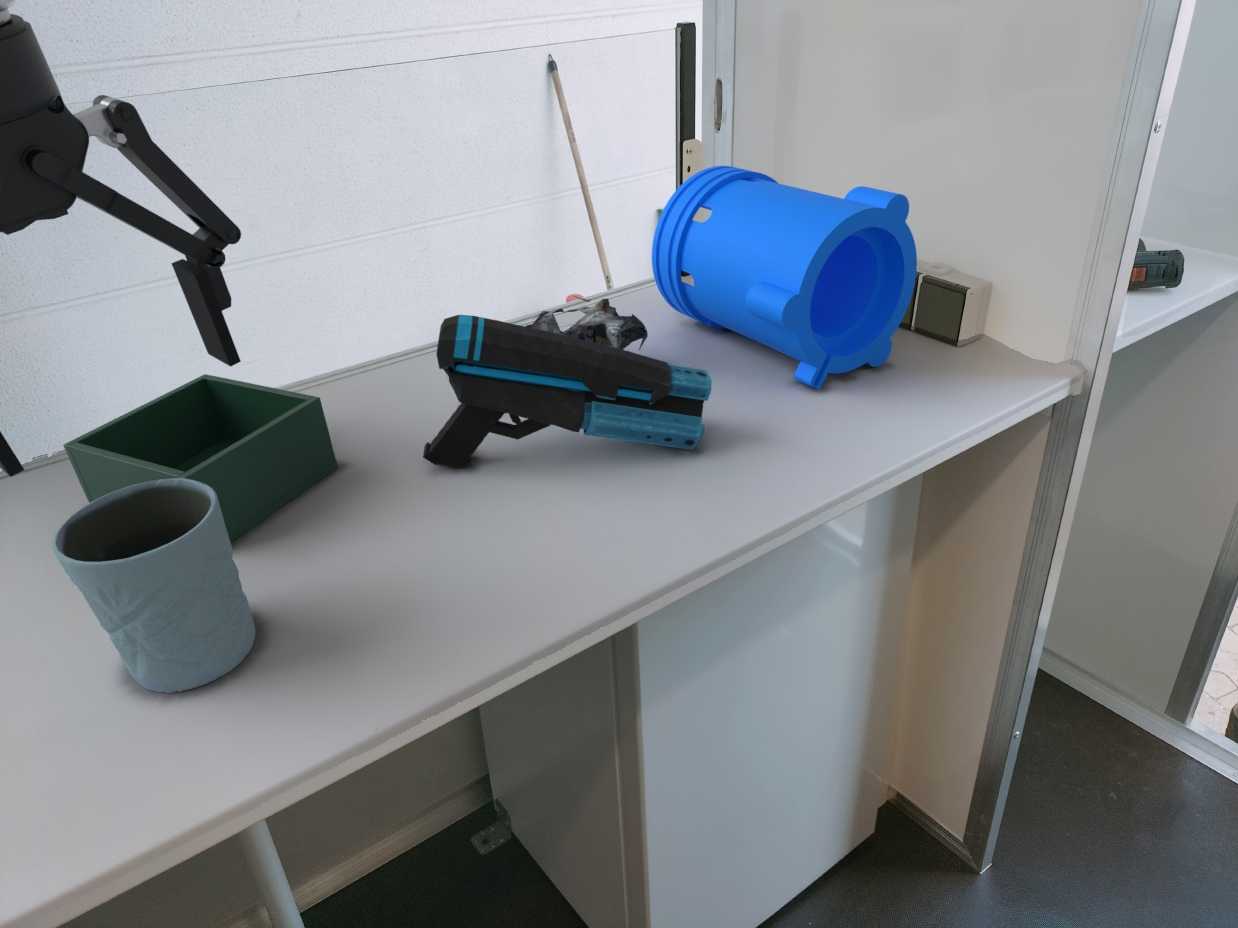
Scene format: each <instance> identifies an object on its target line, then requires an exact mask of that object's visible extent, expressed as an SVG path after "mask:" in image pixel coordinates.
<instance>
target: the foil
mask: <svg viewBox="0 0 1238 928" xmlns="http://www.w3.org/2000/svg"><path fill="white" fill-rule="evenodd" d="M573 297H574V298H577V299H579V300H582V301H584V302H587V303H589V302H591V300H590V299H586V298H582V297H578V296H575V295H573ZM585 305H586V303H585V304H583V305H582V306H580V307H579V308H575V309H574V308H573V309H568V310H564V308H558V309H552V310H551V311H549V310H542V311H541V312H540V313H539V314H537V316H535V317H534V318H533V319H532V321H534V322H533V323H531V324H530V323H528V324H526V325H524V326H525V327H530V328H535V329H539V330H544V331H549V332H553V333H557V334H561V335H565V336H569V337H573V338H577V339H581V340H585V341H589V342H593V343H598V344H602V345H606V346H610V347H614V348H618V349H622V350H625V348H627V347H628V346H630V345H632V343H634V342H637V341H638V340H641V342H640V345H639V349H638V351H640V350H641V349H642V347H643V345H644V343H645V342H646V340H647V338H648V335H649V334H648V330H647V327H646V325H645V324H644V323H643V322H642V321H641V320H640V319H639V318H638V317H637V316H636V315H635V314H634V313H632V314H631V315H619V313H618V311H617V307H614V306H612V305H611V304H610V301H609V298H602V299H600V300H599V302H597V303H595V304H594V305H593V306H585ZM578 311H579V312H581V313H583V314H585V315H584V316H582V317H581V318H579V320H577V321H576V322H575V323H573V324H571V325H570V324H568V325H566V327H567V326H570V327H569V328H567V329H565V330H564V331H562V330H561V329H560V328H563V327H564V325H563V326H561V327H560V326H559V323H558V321H557V319H556V317H555V314H557V313H563V314H564V313H565V314H566V313H575V312H578Z"/></svg>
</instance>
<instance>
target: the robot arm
mask: <svg viewBox="0 0 1238 928" xmlns="http://www.w3.org/2000/svg"><path fill="white" fill-rule="evenodd" d="M16 2H17V0H0V233H3V234H5V235H6V236H8V235H9V236H10V235H11V234H14V233H17V232H21V231H23V230H25V229H26V228H27V227H29V226H31V225H32V224H34V223H35V222H37V221H45V220H55V219H58V218H61V217H64V216H67V215H69V214H70V213H69V212H68V210H69V209H71V208H72V206H73V205H74V204H75V202H76V200H77V199H78V200H80V201H83V202H85V203H86V204H88V205H91V206H93V207H94V208H95V209H98V210H99V211H102V212H103V213H106V214H107V215H109V216H111V217H112V218H115V219H116V220H119V221H120V222H122V223H124V224H126V225H128V226H130V227H132V228H134V229H135V230H137V231H139V232H141V233H143V234H145V235H147V236H148V237H150V238H153V240H156V241H158V242H159V243H162V244H164V245H165V246H167V247H168V248H170V249H173V250H175V251H176V252H178V253H179V254H182V255H183V256H185V259H184V258H181V259H178V260H176V261H173V262H171V266H172V268H173V271H174V273H175V276H176V279H177V281H178V283H179V286H180V288H181V291H182V293H183V296H184V298H185V300H186V303H187V305H188V308H189V310H190V313H191V315H192V318H193V320H194V323H195V325H196V328H197V330H198V332H199V334H200V338H201V340H202V343H203V345H204V347H205V350H206V352H207V354H208V355H209V356H211V357H213V358H214V359H216V360H218V361H220V362H222V363H223V364H225V365H227V366H228V367H230V368H231V367H233V366H235V365H237V364H239V363H242V362H241V358H240V355H239V352H238V350H237V347H236V345H235V342H234V340H233V337H232V335H231V332H230V329H229V327H228V324H227V321H226V319H225V316H224V313H223V311H225V310H227V309H229V308H231V307H232V295H231V293H230V291H229V287H228V285H227V282H226V280H225V277H224V274H223V272H222V269H221V267H223V266H224V265H225V263H226V254H225V253H224V251H223V250H224V249H226V248H227V247H228V246H229V245H236V244H238V243H239V241H241V238H242V231H241V229H240V227H239V226H238V225H237V224H235V222H234V221H233V220H232V219H231V218H230V217H229V216H228V215H227V214H226V213H225V212H224V211H223V210H222V209H221V208H220V207H219V206H218V205H217V204H216V203H215V202H214V201H213V200H212V199H211V198H210V197H209V196H208V195H207V194H206V193H205V192H204V191H203V190H202V189H201V188H200V186H198V185H197V183H195V182H194V180H192V179H191V178H190V177H189V176H188V175H187V174H186V173H185V171H183V170H182V169H181V168H180V167H179V166H178V165H177V164H176V162H174V161H173V160H172V159H171V158H170V157H169V156H168V154H166V153H165V152H164V150H162V149H161V148H160V147H159V146H158V145H157V144H156V143H155V142H154V140H153V139H152V137H151V136H150V133H149V132H148V130H147V128H146V126H145V124H144V122H143V120H142V118H141V116H140V113H139V111H138V110H137V108H136V107H135V105H133V104H131V103H130V102H127V101H124V100H121V99H118V98H115V97H112V96H109V95H105V94H100V95H98V96H96V97H95V98H94V99H93V101H92V106H90V107H88V108H86V109H83V110H81V111H78V112H76V113H72V112H71V110H69V108H68V107H67V105H66V104H65V102H64V99H63V96H62V94H61V91H60V89H59V86H58V84H57V82H56V80H55V77H54V75H53V73H52V71H51V68H50V66H49V64H48V61H47V59H46V57H45V54H44V52H43V49H42V47H41V45H40V43H39V41H38V38H37V35H36V33H35V31H34V29H33V27H32V25H31V23H30V22H28V21H26V20H24V18H23V17H22V16H20V15H17V14H14V13H10V10H9V9H10V8H11V7H12V6H14V5H15V4H16ZM90 137H95V138H96V139H97V140H98V141H99V142H100V143H101V144H102V145H105V146H108V147H111V148H114V149H116V150H118V152H119V153H120V154H121V155H122V156H123V157H125V159H126V160H128V161H129V162H130V164H131V165H133V166H134V167H135V168H136V169H137V170H138V171H139V172H140V173H141V174H142V175H143V176H144V177H145V178H146V179H147V180H148V181H149V182H150V183H152V184H153V186H155V187H156V188H157V189H158V190H159V191H160V192H161V193H162V194H163V196H165V197H166V198H167V199H168V200H170V202H172V203H173V204H174V206H176V207H177V208H178V210H180V211H181V213H183V214H184V215H185V216H186V217H187V218H188V219H189V220H190V221H191V222H192V223H193V224H194V225H196V227H198V229H197V230H196V231H194V233H193V234H192V233H191V232H190V231H189V232H188V231H187V230H185V229H184V228H182V227H180V226H178V225H176V224H174V223H173V222H171V221H169V220H167V219H166V218H164V217H162V216H160V215H158V214H157V213H155V212H153V211H151V210H150V209H148V208H146V207H145V206H143V205H140V204H139V203H137V202H135V201H134V200H132V199H130V198H128V197H127V196H125V195H123V194H122V193H119V192H118V191H116V190H115V189H113V188H112V187H110V186H108V185H106V184H105V183H103V182H101V181H100V180H97V179H96V178H94V177H92V176H90V175H88V174H87V173H85V172H84V167H85V163H86V160H87V159H86V158H87V155H88V154H87V153H88V150H89V145H90ZM0 469H1V470H2V471H3V472H4V473H5V474H7V475H8V476H9V477H10V478H12V477H14V476H15V475H18V474H19V473H21V472H24V471H25V468H24V466H23V465H22V463H21V462H20V460H19V458H18V457H17V455H16V453H15V452H14V450H13V449H12V448H11V446H10V444H9V443H8V441H7V440H6V438H5V437H4V435H3V433H2V432H1V431H0Z"/></svg>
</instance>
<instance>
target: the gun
mask: <svg viewBox="0 0 1238 928" xmlns="http://www.w3.org/2000/svg"><path fill="white" fill-rule="evenodd" d="M525 326H526V325H520V324H515V323H510V322H507V321H501V320H496V319H491V318H487V317H482V316H478V315H471V314H470V315H469V314H456V315H453V316H450V317H446V318H444V319H443V321H442V323H441V325H440V328H439V334H438V339H437V348H436V359H437V364H438V368H439V370H443V372H445V374H446V375H447V377H448V383H449V384H450V386H451V388H452V390H453V392H454V394H455V397H456V399H457V400H458V402H459V403H460V404H459V405H458V406H457V408H456V410H455V411H454V412H453V413H452V414H451V415H450V417H449V418H448V420H447V421H446V422H445V424H444V425H443V426H442V427H441V429H440V430H439V431H438V433H437V434H436V436H434V437H433V439H432V440H431V442H428V441H427V442H426V443H425V444H424V448H423V452H422V453H423V455H422V458H423V459H425V460H426V461H428V462H430V463H431V464H433V465H434V466H443V467H444V466H445V467H457V468H470V467H471V458H472V456H473V455H474V453H475V452H476V451H477V450H478V448H479V446H480V445H481V444H482V443H483V441H484V440H485V438H486V437H488V435H489V433H490V434H494V435H499V436H502V437H506V438H510V439H514V440H516V441H517V440H521V439H522V438H525V437H527V436H529V435H532V434H534V433H536V432H539V431H541V430H544V429H546V428H548V427H550V426H551V425H552V426H554V427H557V428H561V429H564V430H567V431H570V432H573V433H580V431H581V430H583V434H584V435H585V436H592V437H597V438H603V439H605V438H606V439H612V440H619V441H627V442H634V443H641V444H648V445H656V446H662V447H670V448H677V449H683V450H684V449H685V450H690V451H693V450H694V449H695V447H696V446H697V445H698V442H699V441H701V439H704V438H705V435H706V432H707V426H706V424H705V423H703V413H704V403H705V401H706V402H708V401H709V397H710V395H711V392H712V384H713V383H712V382H713V380H712V378H711V377H710V375H709V373H708V371H707V370H706V369H701V368H695V367H690V366H689V367H688V366H683V365H676V364H670V363H669V362H667V361H664V360H660V359H657V358H654V357H649V356H646V355H642V354H640V353H636V352H633V351H628V350H626V349H624V350H622V349H618V348H614V347H610V346H606V345H602V344H598V343H593V342H589V341H585V340H581V339H577V338H573V337H569V336H565V335H561V334H557V333H553V332H549V331H544V330H539V329H535V328H530V327H525ZM505 414H508V415H509V417H510V420H511V422H512V423H508V422H504V421H500V420H501V418H503V416H504V415H505ZM521 418H524V419H525V420H522V419H521Z"/></svg>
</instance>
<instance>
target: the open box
mask: <svg viewBox="0 0 1238 928" xmlns="http://www.w3.org/2000/svg"><path fill="white" fill-rule="evenodd" d="M321 400H322V399H321V397H320V396H315V395H311V394H305V393H301V392H295V391H291V390H286V389H281V388H276V387H270V386H266V385H261V384H258V383H257V384H256V383H252V382H251V383H250V382H246V381H241V380H237V379H231V378H227V377H222V376H216V375H213V374H207V373H205V374H202V375H200V376H198V377H196V378H195V379H192V380H190V381H188V382H186V383H184V384H182V385H180V386H178V387H176V388H173V389H172V390H170V391H168V392H166V393H164V394H162V395H160V396H158V397H156V398H154V399H152V400H150V401H148V402H145V403H144V404H142V405H140V406H138V407H136V408H134V409H132V410H130V411H128V412H126V413H124V414H122V415H119V416H118V417H116V418H113V419H112V420H110V421H108V422H106V423H104V424H102V425H100V426H97V427H96V428H94V429H92V430H90V431H88V432H85V433H84V434H82V435H80V436H78V437H75V438H74V439H71V440H70V441H67V442H65V443H64V444H63V445H62V446H63V448H64V450H65V452H66V455H67V457H68V459H69V461H70V463H71V466H72V468H73V470H74V472H75V474H76V475H75V476H76V477H77V479H78V481H79V484H80V487H81V489H82V490H83V492H84V495H85V497H86V499H87V502H88V504H89V503H91V502H92V501H94V500H96V499H98V498H100V497H102V496H105V495H107V494H110V493H112V492H114V491H117V490H120V489H123V488H125V487H128V486H132V485H135V484H139V483H144V482H149V481H154V480H161V479H173V478H185V479H190V480H195V481H198V482H201V483H204V484H206V485H208V486H210V487H211V488H212V489H213V490H214V491H215V493H216V494H217V498H218V501H219V505H220V508H221V512H222V516H223V519H224V523H225V526H226V530H227V533H228V536H229V540H230V543H231V544H232V543H233V542H234V541H235V540H237V539H238V538H240V537H241V536H242V535H244V534H245V533H247V532H248V531H250V530H251V529H253V528H254V527H255V526H256V525H258V524H259V523H261V522H263V521H264V520H265V519H267V518H268V517H270V516H271V515H272V514H274V513H275V512H278V510H280V509H281V508H282V507H284V506H285V505H287V504H288V503H289V502H291V501H292V500H294V499H295V498H296V497H298V496H299V495H301V494H302V493H303V492H306V491H307V490H308V489H309V488H311V487H312V486H314V485H315V484H317V483H318V482H319V481H321V480H322V479H324V478H325V477H326V476H328V475H329V474H330V473H332V472H334V471H335V470H336V469H338V468H339V465H338V462H337V459H336V458H337V457H336V454H335V450H334V447H333V442H332V439H331V435H330V431H329V428H328V427H329V426H328V424H327V420H326V416H325V411H324V408H323V404H322V401H321Z"/></svg>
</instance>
